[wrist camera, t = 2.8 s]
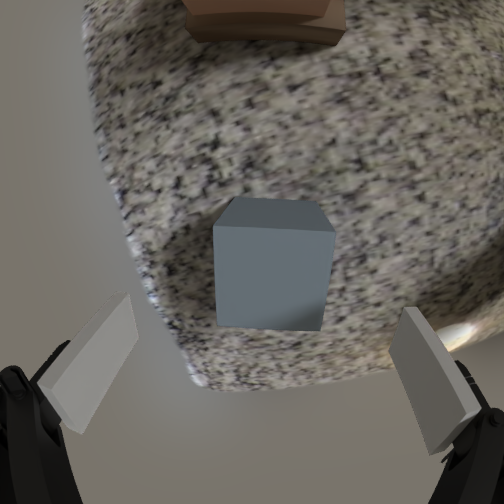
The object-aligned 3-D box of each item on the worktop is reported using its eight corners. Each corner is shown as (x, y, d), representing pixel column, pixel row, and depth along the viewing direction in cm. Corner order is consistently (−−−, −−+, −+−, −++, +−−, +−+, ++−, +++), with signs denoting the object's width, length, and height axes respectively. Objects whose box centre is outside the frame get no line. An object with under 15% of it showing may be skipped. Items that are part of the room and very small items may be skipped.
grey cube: (234, 197, 22) (212, 225, 15) (316, 201, 21) (336, 232, 14) (234, 270, 24) (217, 325, 17) (308, 274, 24) (320, 331, 17)
